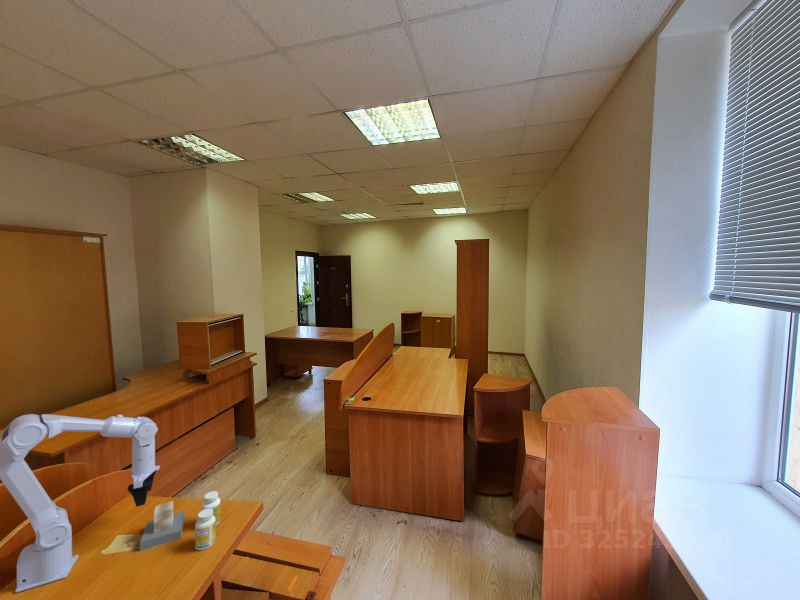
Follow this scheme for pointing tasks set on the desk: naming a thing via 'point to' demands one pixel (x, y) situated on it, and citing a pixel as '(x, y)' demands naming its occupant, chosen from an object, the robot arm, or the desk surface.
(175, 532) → the base block
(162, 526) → the cream block
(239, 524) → the desk surface
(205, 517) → the supplement bottle
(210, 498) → the supplement bottle
